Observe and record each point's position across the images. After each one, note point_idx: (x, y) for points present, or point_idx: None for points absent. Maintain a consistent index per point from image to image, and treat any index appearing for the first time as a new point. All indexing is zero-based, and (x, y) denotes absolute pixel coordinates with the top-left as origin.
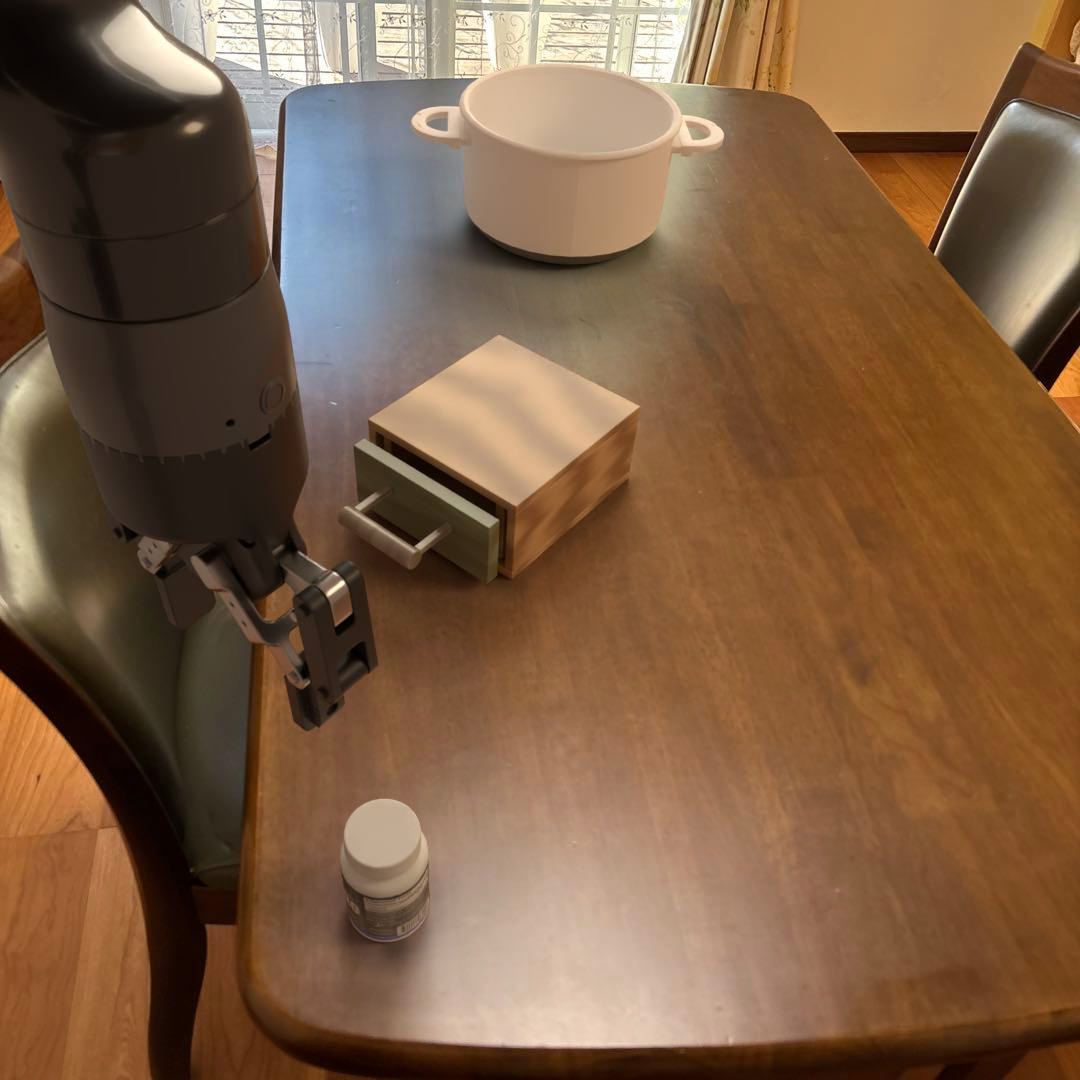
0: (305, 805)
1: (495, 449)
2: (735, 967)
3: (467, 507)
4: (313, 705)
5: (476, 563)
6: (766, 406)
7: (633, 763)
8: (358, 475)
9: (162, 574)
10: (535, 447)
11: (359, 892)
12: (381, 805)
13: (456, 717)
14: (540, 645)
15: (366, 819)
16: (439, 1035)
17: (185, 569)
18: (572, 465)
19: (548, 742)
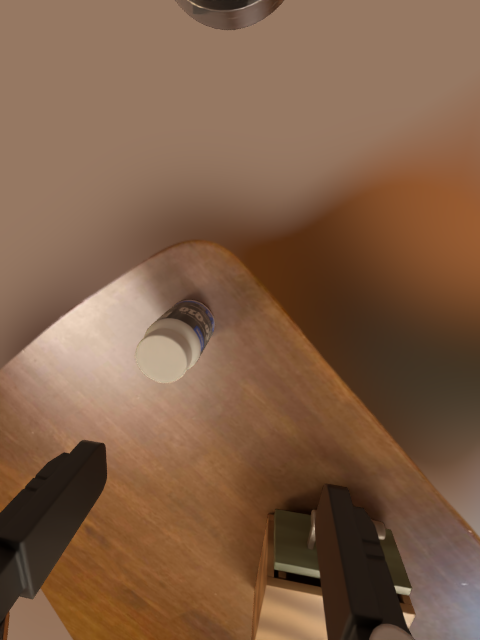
0: (274, 344)
1: (310, 617)
2: (41, 380)
3: (299, 570)
4: (30, 492)
5: (284, 522)
6: None
7: (142, 446)
8: (397, 556)
9: (363, 623)
10: (287, 625)
11: (166, 318)
12: (174, 375)
13: (237, 429)
14: (227, 484)
15: (175, 362)
16: (123, 278)
17: (338, 631)
18: (258, 618)
19: (185, 438)
